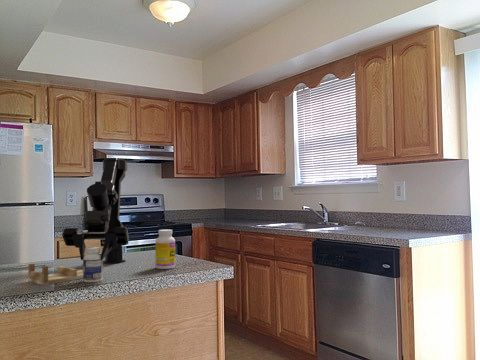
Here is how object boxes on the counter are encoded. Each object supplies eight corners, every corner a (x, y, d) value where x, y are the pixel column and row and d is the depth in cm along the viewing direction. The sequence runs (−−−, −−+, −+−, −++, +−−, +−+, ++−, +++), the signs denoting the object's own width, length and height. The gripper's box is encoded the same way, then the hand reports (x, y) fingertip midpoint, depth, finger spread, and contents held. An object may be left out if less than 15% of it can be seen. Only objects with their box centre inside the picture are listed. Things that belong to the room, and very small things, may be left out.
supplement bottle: (171, 269, 141) (170, 231, 142) (152, 269, 142) (152, 230, 143) (178, 266, 148) (177, 229, 148) (160, 265, 149) (159, 229, 149)
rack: (28, 281, 125) (28, 264, 125) (86, 271, 140) (86, 256, 140) (44, 285, 119) (44, 267, 119) (102, 274, 134) (102, 258, 134)
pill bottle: (86, 279, 127) (86, 246, 127) (104, 278, 128) (104, 246, 128) (80, 283, 122) (80, 248, 122) (100, 282, 122) (99, 248, 122)
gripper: (63, 201, 128) (51, 242, 117) (127, 200, 130) (121, 240, 119) (71, 225, 136) (60, 266, 125) (131, 224, 138) (125, 264, 127)
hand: (91, 258), depth 123 cm, fingers closed on pill bottle, 5 cm apart
